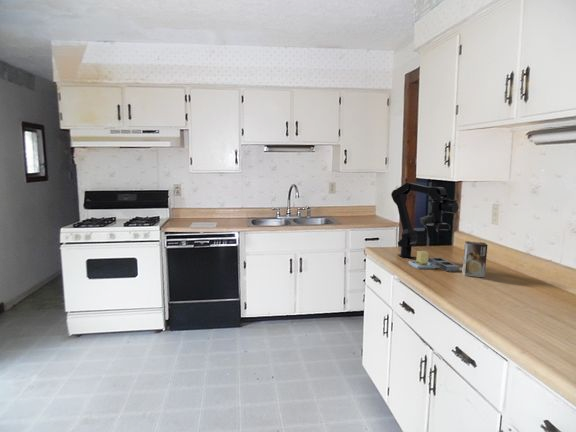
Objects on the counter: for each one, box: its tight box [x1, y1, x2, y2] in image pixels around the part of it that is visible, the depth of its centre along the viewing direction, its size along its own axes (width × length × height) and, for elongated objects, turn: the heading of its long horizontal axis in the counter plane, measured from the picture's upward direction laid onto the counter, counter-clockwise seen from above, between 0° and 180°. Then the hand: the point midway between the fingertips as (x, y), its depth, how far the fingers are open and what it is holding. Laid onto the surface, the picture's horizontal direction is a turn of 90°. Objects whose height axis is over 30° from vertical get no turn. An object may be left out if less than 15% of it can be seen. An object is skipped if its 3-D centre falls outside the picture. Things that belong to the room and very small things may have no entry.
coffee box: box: [461, 240, 488, 278], centre depth 191 cm, size 9×6×16 cm
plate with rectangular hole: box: [428, 257, 461, 273], centre depth 205 cm, size 18×7×2 cm, turn 9°
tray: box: [408, 260, 437, 270], centre depth 204 cm, size 10×10×2 cm
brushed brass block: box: [415, 250, 429, 266], centre depth 204 cm, size 4×4×7 cm
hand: (434, 239), depth 209 cm, fingers open, 9 cm apart
